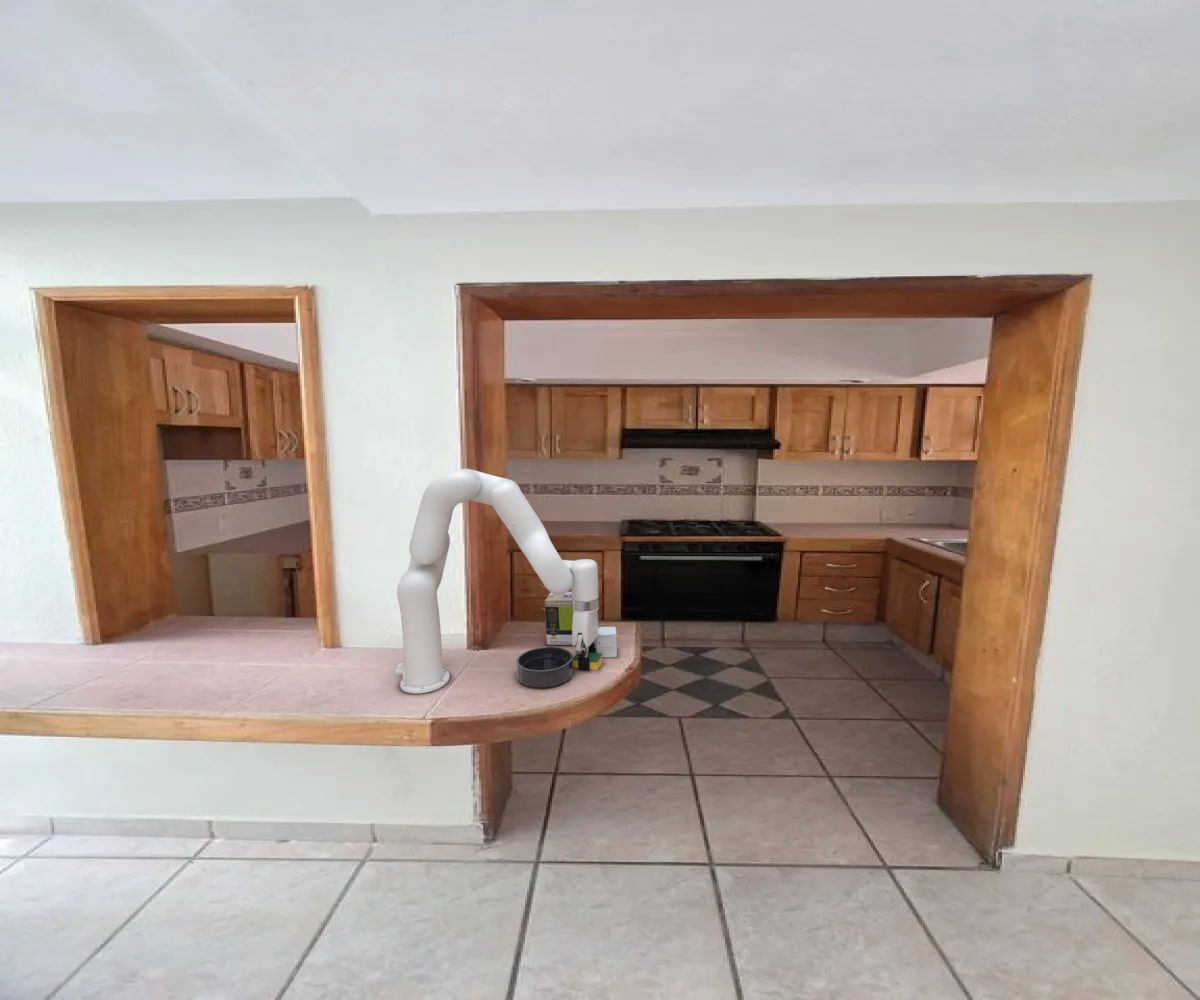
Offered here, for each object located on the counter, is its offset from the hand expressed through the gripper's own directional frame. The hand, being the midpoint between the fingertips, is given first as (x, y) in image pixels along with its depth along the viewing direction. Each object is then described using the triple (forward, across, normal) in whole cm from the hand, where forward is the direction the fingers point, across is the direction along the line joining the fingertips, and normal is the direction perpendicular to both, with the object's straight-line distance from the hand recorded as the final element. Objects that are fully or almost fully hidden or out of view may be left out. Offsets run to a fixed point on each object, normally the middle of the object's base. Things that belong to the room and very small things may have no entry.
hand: (587, 664), depth 142 cm
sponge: (0, 0, 0) cm, 0 cm away
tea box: (0, -16, -11) cm, 20 cm away
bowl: (0, +9, -9) cm, 13 cm away
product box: (0, -9, +3) cm, 9 cm away
